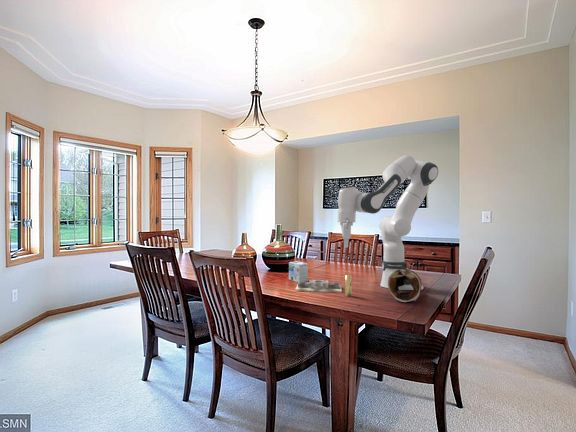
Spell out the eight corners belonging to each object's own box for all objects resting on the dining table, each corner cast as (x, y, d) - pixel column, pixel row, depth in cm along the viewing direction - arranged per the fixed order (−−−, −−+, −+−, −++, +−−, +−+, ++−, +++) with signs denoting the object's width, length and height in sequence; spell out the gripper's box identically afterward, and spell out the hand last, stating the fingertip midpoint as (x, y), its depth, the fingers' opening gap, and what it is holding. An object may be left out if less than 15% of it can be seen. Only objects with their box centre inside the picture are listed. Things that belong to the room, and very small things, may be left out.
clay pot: (420, 268, 178) (419, 267, 155) (423, 298, 175) (423, 301, 152) (390, 270, 184) (385, 269, 161) (394, 299, 180) (389, 302, 158)
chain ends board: (341, 287, 187) (341, 279, 187) (341, 292, 175) (341, 284, 175) (297, 285, 190) (297, 278, 190) (295, 290, 178) (295, 283, 178)
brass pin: (351, 295, 170) (351, 275, 170) (351, 296, 167) (351, 276, 167) (345, 294, 170) (345, 275, 170) (345, 296, 167) (345, 276, 167)
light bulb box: (288, 279, 206) (288, 261, 206) (297, 278, 210) (297, 260, 210) (299, 282, 197) (299, 264, 197) (308, 281, 201) (308, 263, 201)
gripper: (354, 219, 159) (353, 248, 159) (351, 218, 179) (351, 244, 179) (340, 219, 160) (339, 248, 160) (339, 218, 180) (339, 244, 180)
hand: (345, 246), depth 170 cm, fingers open, 8 cm apart
